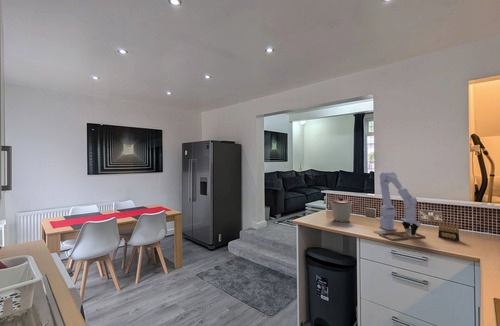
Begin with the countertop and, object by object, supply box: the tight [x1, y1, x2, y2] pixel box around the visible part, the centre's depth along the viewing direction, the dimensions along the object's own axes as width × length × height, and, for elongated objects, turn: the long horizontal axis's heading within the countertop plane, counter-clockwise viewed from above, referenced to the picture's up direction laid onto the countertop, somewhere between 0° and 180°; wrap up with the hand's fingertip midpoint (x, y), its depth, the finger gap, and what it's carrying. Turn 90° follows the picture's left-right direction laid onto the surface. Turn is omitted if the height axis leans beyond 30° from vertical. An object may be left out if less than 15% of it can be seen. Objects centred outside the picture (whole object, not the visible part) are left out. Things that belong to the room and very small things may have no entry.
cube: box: [404, 227, 417, 237], centre depth 166 cm, size 4×4×4 cm
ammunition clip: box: [438, 219, 460, 242], centre depth 158 cm, size 11×2×12 cm, turn 40°
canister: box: [330, 196, 353, 223], centre depth 211 cm, size 18×18×21 cm
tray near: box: [378, 232, 409, 242], centre depth 163 cm, size 12×12×1 cm
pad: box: [373, 230, 392, 235], centre depth 173 cm, size 7×10×1 cm
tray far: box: [395, 231, 426, 240], centre depth 166 cm, size 12×12×1 cm
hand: (410, 233), depth 166 cm, fingers closed on cube, 4 cm apart
